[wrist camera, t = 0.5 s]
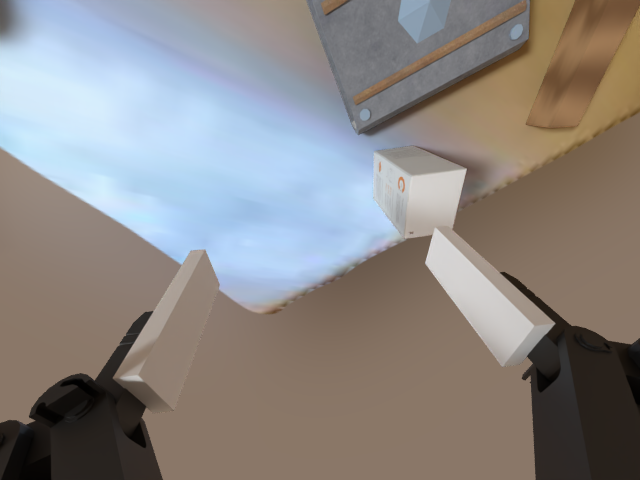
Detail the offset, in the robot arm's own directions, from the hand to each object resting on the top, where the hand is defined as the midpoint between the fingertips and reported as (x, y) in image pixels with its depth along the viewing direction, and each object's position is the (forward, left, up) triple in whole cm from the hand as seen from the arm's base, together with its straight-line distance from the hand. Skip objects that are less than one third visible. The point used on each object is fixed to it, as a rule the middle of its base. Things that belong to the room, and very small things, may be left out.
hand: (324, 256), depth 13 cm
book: (-15, +14, -25) cm, 32 cm away
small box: (+4, +14, -25) cm, 29 cm away
